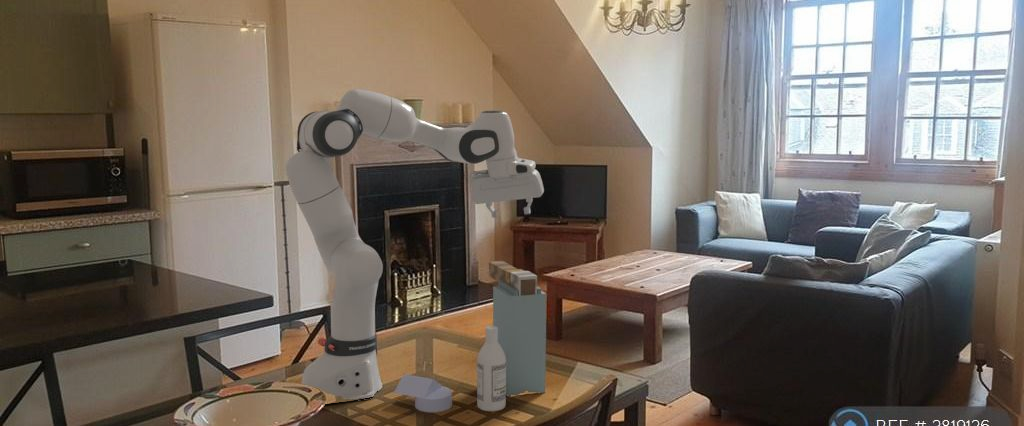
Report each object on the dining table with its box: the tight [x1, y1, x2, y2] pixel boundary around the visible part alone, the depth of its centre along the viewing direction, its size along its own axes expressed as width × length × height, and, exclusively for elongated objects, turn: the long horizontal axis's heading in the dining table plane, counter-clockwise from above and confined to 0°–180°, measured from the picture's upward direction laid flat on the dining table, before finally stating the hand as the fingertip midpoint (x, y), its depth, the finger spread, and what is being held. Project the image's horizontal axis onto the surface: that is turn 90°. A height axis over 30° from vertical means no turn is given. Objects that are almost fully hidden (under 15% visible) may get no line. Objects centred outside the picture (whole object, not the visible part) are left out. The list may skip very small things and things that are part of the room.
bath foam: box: [476, 325, 507, 413], centre depth 190 cm, size 7×7×20 cm
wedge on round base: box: [393, 373, 453, 413], centre depth 193 cm, size 9×7×13 cm
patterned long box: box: [488, 260, 538, 296], centre depth 207 cm, size 24×5×5 cm, turn 21°
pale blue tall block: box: [492, 280, 547, 397], centre depth 203 cm, size 12×10×27 cm
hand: (511, 215), depth 221 cm, fingers open, 8 cm apart
